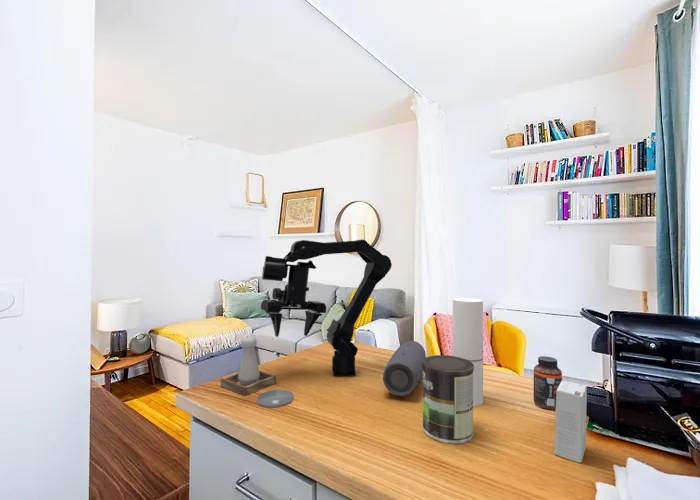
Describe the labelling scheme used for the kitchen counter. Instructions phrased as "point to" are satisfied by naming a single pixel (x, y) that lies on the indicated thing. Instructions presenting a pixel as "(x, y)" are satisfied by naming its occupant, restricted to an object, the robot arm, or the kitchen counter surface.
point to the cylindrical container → (470, 339)
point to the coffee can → (448, 398)
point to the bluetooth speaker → (404, 368)
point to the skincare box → (570, 421)
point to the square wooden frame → (245, 390)
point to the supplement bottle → (546, 382)
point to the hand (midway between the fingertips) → (291, 336)
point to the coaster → (275, 398)
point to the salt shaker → (248, 362)
